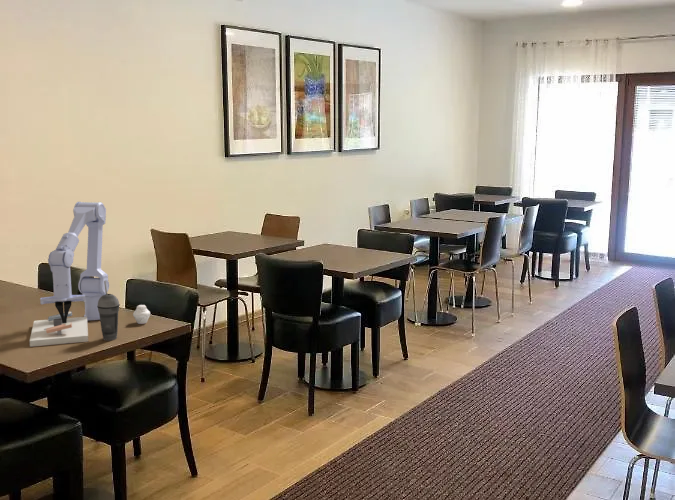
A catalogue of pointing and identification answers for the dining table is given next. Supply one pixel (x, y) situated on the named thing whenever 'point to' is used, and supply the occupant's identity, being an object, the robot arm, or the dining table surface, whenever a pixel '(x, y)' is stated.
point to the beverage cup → (108, 315)
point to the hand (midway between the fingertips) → (64, 322)
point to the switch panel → (59, 332)
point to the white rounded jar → (141, 314)
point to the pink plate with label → (59, 327)
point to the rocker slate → (58, 316)
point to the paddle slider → (57, 321)
